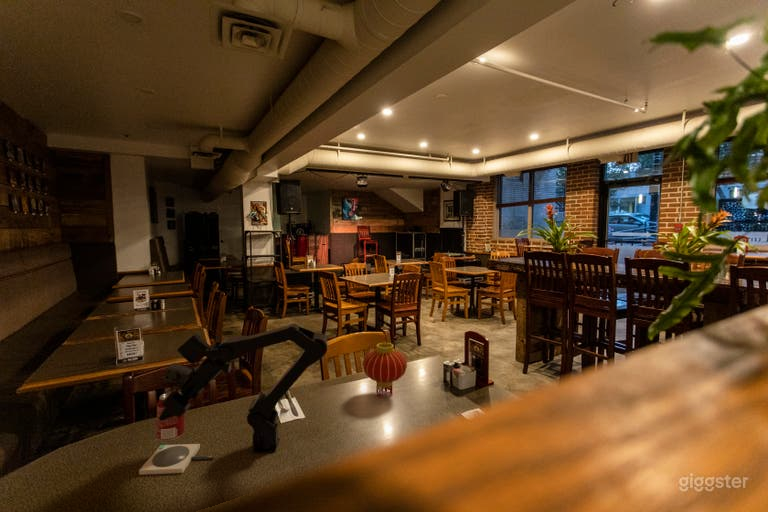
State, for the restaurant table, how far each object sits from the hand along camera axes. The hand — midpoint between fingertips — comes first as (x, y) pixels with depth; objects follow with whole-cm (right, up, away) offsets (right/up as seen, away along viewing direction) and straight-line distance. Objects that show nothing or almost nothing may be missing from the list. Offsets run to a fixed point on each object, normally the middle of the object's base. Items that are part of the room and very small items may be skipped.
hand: (165, 413), depth 104 cm
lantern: (+63, -10, +39) cm, 74 cm away
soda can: (+1, -7, 0) cm, 7 cm away
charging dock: (+6, -12, -2) cm, 14 cm away
